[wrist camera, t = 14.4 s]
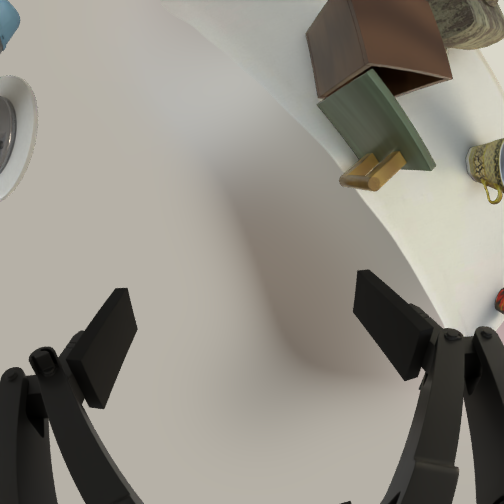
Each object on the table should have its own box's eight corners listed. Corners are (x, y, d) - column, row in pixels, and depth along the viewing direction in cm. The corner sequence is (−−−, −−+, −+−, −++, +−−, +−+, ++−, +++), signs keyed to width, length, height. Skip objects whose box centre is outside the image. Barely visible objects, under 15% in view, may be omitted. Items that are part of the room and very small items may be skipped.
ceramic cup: (469, 127, 38) (507, 125, 29) (493, 160, 40) (529, 163, 31) (447, 181, 41) (488, 186, 31) (474, 212, 43) (511, 222, 33)
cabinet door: (337, 193, 39) (396, 206, 25) (286, 128, 36) (323, 103, 22) (369, 164, 39) (436, 165, 24) (321, 101, 36) (372, 68, 21)
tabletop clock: (449, 59, 34) (546, 31, 10) (418, 59, 34) (524, 18, 10) (418, -3, 30) (497, -51, 6) (384, -7, 30) (464, -70, 6)
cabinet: (386, 100, 36) (453, 79, 21) (317, 98, 36) (368, 62, 21) (373, 39, 33) (428, 1, 18) (305, 33, 33) (343, -22, 18)
